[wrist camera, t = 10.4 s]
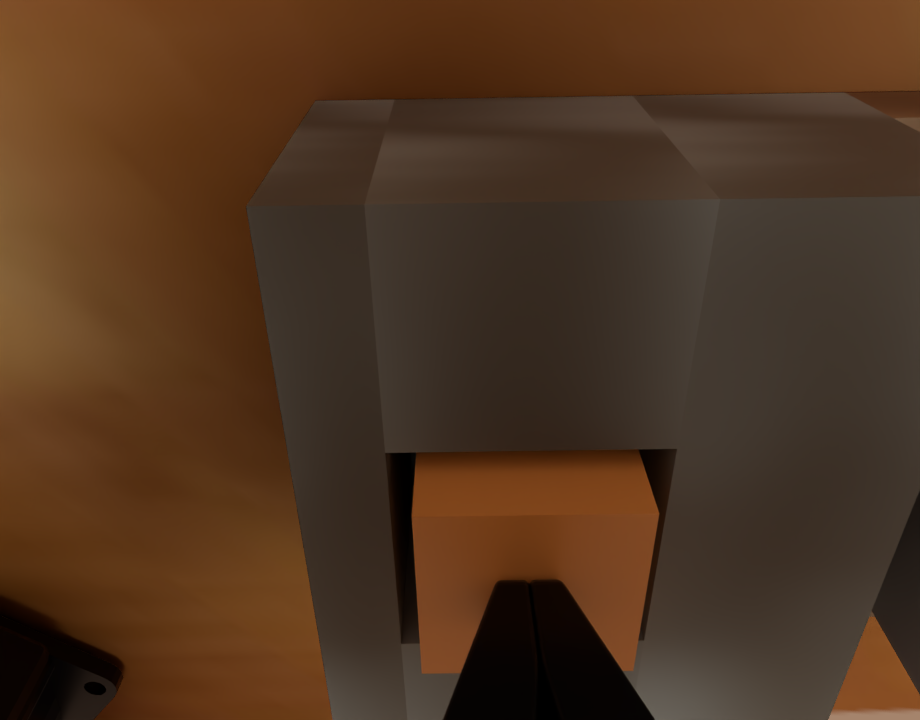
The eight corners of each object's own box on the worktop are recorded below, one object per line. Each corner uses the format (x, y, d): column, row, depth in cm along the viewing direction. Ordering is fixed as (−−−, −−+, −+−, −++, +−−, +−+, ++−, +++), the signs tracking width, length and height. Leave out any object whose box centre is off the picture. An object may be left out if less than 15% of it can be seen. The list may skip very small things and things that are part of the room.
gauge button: (429, 499, 13) (422, 674, 10) (422, 360, 12) (412, 516, 9) (594, 497, 13) (633, 671, 10) (608, 357, 12) (659, 513, 9)
